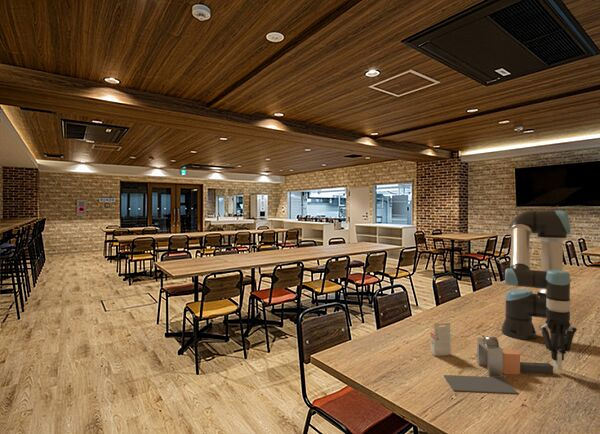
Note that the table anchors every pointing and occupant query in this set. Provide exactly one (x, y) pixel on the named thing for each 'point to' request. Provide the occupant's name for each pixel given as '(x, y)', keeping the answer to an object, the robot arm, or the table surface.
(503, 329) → the robot arm
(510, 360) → the plug
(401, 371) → the table surface
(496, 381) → the mat
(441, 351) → the ink box
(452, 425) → the table surface
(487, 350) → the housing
